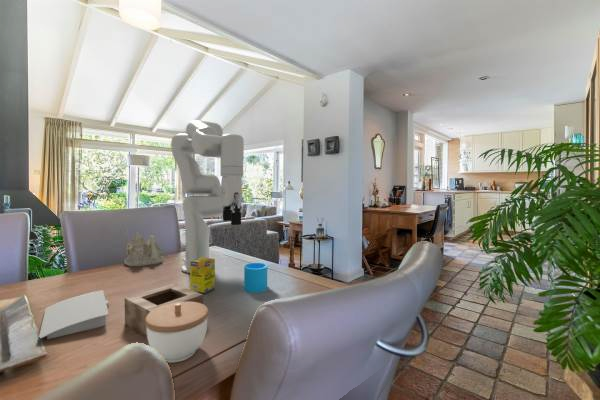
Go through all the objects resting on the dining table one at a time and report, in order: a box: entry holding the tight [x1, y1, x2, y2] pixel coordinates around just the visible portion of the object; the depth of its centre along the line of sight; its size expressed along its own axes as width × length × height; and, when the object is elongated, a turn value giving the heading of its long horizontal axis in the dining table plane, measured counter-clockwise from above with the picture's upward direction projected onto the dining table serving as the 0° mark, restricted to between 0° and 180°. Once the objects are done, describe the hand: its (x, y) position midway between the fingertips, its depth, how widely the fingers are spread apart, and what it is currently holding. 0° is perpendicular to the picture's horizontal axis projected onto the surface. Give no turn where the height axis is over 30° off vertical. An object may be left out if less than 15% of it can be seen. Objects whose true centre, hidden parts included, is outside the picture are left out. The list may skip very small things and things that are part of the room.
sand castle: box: [123, 232, 165, 267], centre depth 137 cm, size 16×16×15 cm
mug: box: [243, 262, 268, 294], centre depth 106 cm, size 12×8×8 cm
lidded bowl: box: [145, 301, 209, 364], centre depth 65 cm, size 13×13×11 cm
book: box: [38, 289, 109, 340], centre depth 80 cm, size 15×23×4 cm, turn 37°
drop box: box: [124, 283, 204, 338], centre depth 79 cm, size 14×14×7 cm
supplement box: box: [189, 257, 216, 296], centre depth 101 cm, size 6×6×11 cm
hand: (231, 222), depth 100 cm, fingers open, 9 cm apart
